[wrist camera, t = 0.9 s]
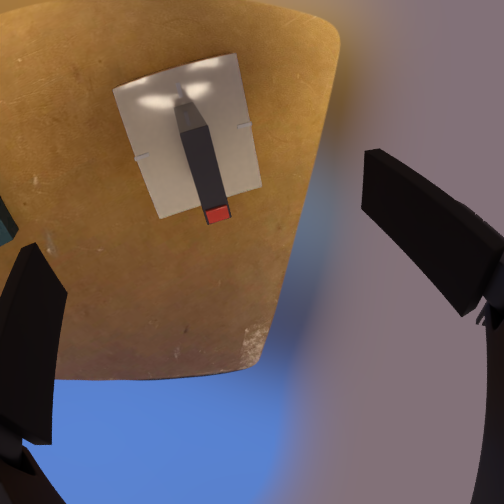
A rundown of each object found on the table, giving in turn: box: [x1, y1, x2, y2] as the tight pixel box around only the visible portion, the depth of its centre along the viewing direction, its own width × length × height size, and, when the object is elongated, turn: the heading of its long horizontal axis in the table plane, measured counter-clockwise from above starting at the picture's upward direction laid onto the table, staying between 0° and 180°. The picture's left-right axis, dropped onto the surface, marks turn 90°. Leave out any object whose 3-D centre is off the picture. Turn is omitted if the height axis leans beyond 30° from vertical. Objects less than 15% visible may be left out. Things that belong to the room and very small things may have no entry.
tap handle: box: [174, 102, 232, 225], centre depth 23 cm, size 7×2×9 cm, turn 10°
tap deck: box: [112, 53, 262, 219], centre depth 27 cm, size 14×11×3 cm
